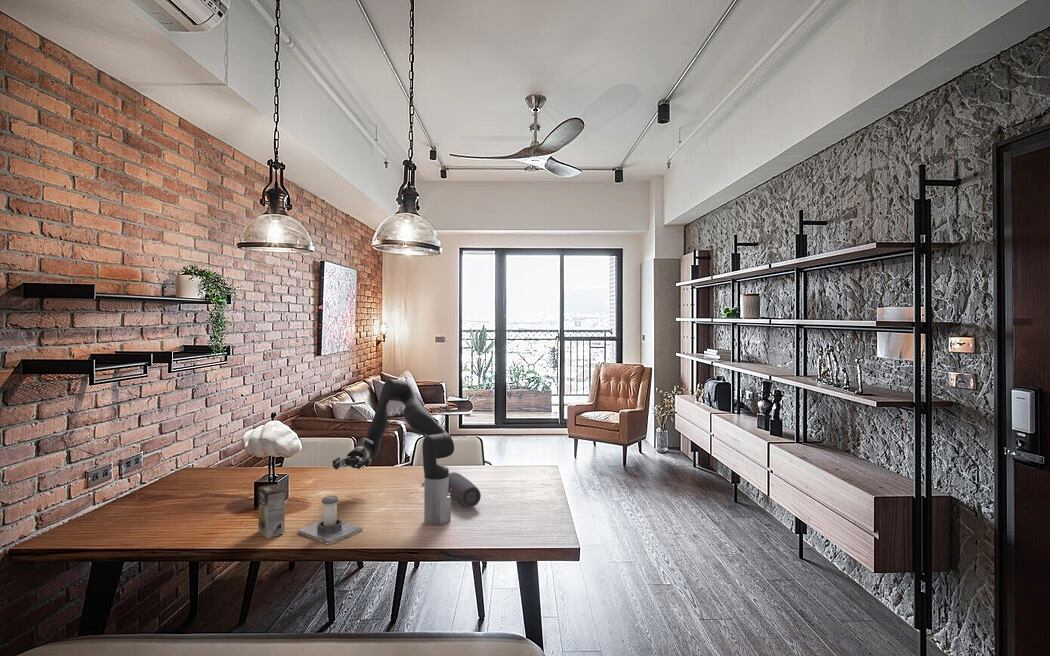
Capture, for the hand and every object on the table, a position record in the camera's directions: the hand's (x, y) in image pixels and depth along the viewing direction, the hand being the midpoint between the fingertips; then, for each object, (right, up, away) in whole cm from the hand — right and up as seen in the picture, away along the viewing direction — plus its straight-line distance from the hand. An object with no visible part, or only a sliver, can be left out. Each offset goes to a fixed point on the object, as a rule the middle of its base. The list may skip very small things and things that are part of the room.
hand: (347, 466), depth 204 cm
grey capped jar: (-1, -18, -15) cm, 24 cm away
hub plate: (-1, -20, -15) cm, 25 cm away
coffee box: (-22, -20, -16) cm, 33 cm away
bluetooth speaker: (+43, -20, +17) cm, 50 cm away
